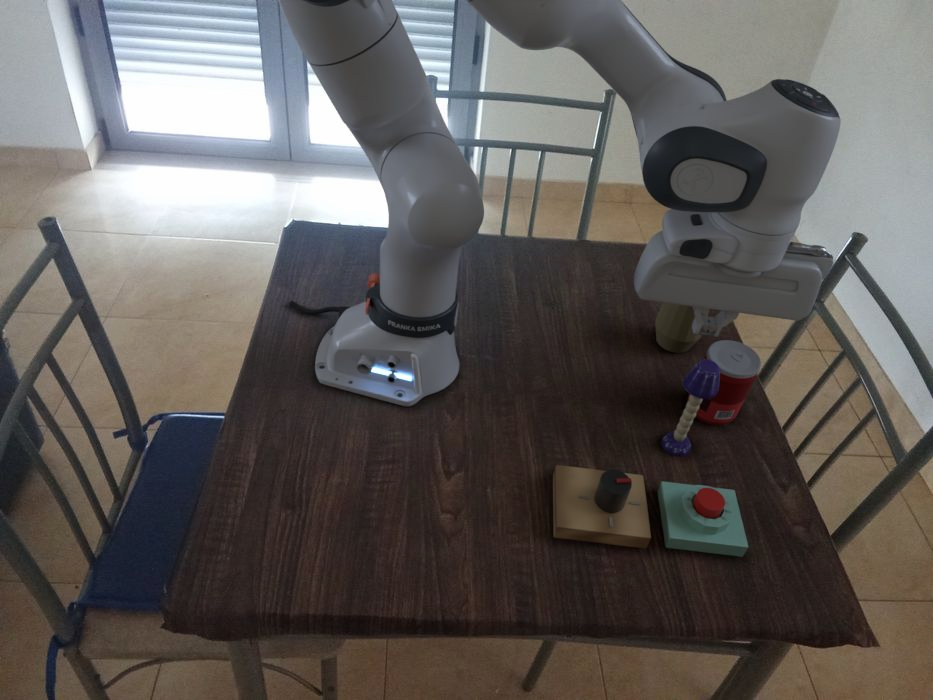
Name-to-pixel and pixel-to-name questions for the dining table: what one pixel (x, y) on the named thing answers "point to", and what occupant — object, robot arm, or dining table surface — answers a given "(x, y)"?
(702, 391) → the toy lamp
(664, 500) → the switch block
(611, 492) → the dimmer knob
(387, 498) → the dining table surface
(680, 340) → the squeeze bottle
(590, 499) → the dimmer panel
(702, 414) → the canned food
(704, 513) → the power button
